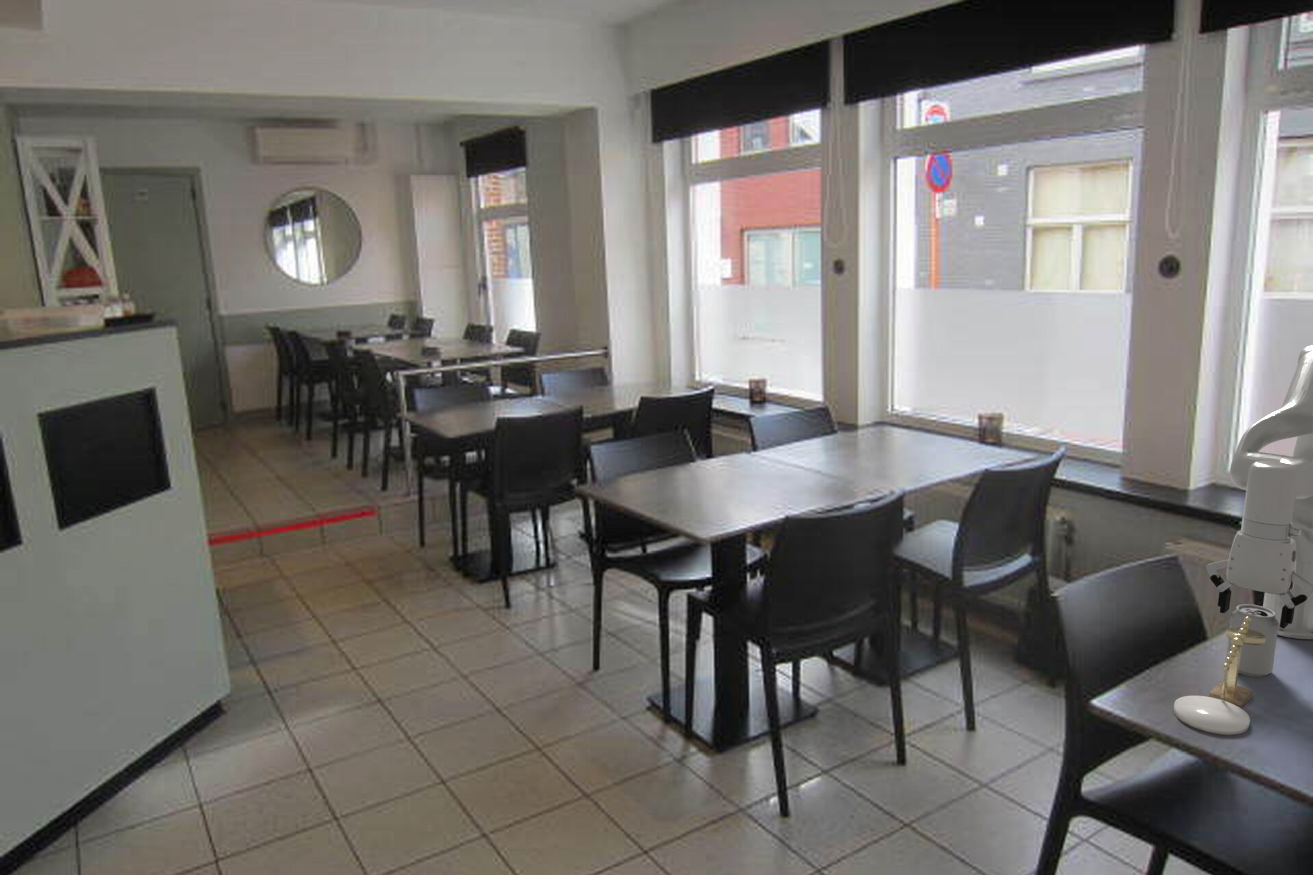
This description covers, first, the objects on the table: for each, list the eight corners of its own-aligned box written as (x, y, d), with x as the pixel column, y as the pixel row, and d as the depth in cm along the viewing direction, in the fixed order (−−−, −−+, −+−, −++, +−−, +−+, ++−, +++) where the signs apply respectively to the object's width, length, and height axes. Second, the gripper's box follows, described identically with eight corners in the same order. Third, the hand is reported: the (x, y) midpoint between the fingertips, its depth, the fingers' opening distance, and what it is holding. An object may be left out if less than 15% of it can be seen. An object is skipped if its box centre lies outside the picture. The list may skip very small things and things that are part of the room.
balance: (1226, 676, 170) (1234, 607, 168) (1263, 687, 166) (1272, 616, 163) (1201, 701, 162) (1209, 629, 159) (1239, 713, 157) (1249, 639, 154)
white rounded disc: (1186, 695, 164) (1187, 689, 163) (1257, 717, 156) (1258, 711, 156) (1163, 717, 156) (1164, 711, 156) (1237, 742, 148) (1238, 735, 148)
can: (1279, 680, 169) (1287, 618, 166) (1234, 677, 170) (1241, 616, 168) (1261, 662, 176) (1269, 603, 173) (1218, 659, 177) (1225, 600, 175)
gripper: (1328, 535, 163) (1314, 626, 167) (1219, 516, 176) (1208, 601, 179) (1317, 544, 158) (1303, 637, 162) (1206, 523, 171) (1195, 610, 174)
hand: (1253, 618), depth 170 cm, fingers open, 9 cm apart
